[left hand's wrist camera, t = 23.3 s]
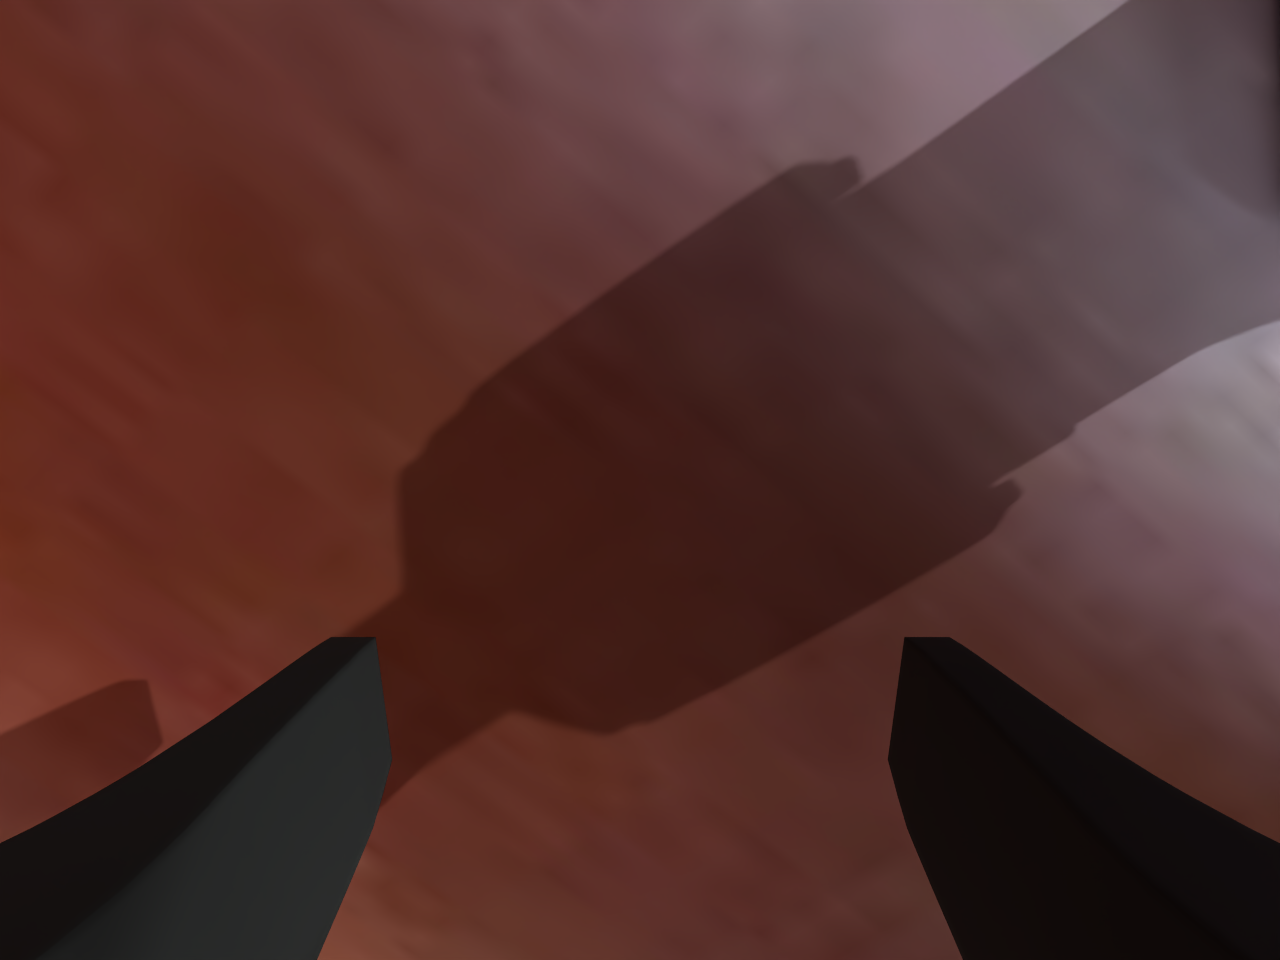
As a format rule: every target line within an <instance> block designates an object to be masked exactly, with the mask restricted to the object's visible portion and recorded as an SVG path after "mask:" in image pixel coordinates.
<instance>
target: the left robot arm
mask: <svg viewBox="0 0 1280 960" xmlns="http://www.w3.org/2000/svg"><path fill="white" fill-rule="evenodd" d="M391 762H392V755H391V747H390V740H389V733H388V725H387V718H386V711H385V703H384V696H383V689H382V681H381V674H380V667H379V659H378V652H377V645H376V637H331V638H329V639H327V640H326V641H324V642H322V643H321V644H319V645H318V646H316V647H315V648H313V649H312V650H310V651H309V652H307V653H306V654H304V655H303V656H301V657H300V658H299V659H297V660H296V661H294V662H293V663H292V664H290V665H289V666H287V667H286V668H285V669H283V670H282V671H280V672H279V673H278V674H276V675H275V676H274V677H272V678H271V679H269V680H268V681H267V682H265V683H264V684H262V685H261V686H260V687H258V688H257V689H255V690H254V691H252V692H251V693H250V694H248V695H247V696H245V697H244V698H243V699H241V700H240V701H238V702H237V703H236V704H234V705H233V706H231V707H230V708H228V709H227V710H226V711H224V712H223V713H221V714H220V715H219V716H217V717H216V718H214V719H213V720H211V721H210V722H208V723H207V724H205V725H204V726H202V727H201V728H199V729H198V730H196V731H194V732H193V733H191V734H190V735H188V736H187V737H185V738H184V739H182V740H181V741H179V742H178V743H176V744H175V745H173V746H171V747H170V748H168V749H167V750H165V751H164V752H162V753H161V754H159V755H158V756H156V757H155V758H153V759H151V760H150V761H148V762H147V763H145V764H144V765H142V766H141V767H139V768H137V769H136V770H134V771H133V772H131V773H129V774H128V775H126V776H124V777H123V778H121V779H119V780H118V781H116V782H114V783H112V784H111V785H109V786H107V787H106V788H104V789H102V790H100V791H99V792H97V793H95V794H93V795H92V796H90V797H88V798H86V799H84V800H82V801H81V802H79V803H77V804H75V805H73V806H72V807H70V808H68V809H66V810H64V811H62V812H61V813H59V814H57V815H55V816H53V817H52V818H50V819H48V820H46V821H44V822H42V823H40V824H38V825H36V826H34V827H32V828H31V829H29V830H27V831H25V832H23V833H20V834H18V835H16V836H14V837H12V838H10V839H8V840H6V841H4V842H2V843H0V960H317V958H318V956H319V954H320V951H321V949H322V947H323V944H324V942H325V940H326V937H327V935H328V933H329V930H330V928H331V926H332V923H333V921H334V919H335V917H336V914H337V912H338V910H339V907H340V905H341V903H342V900H343V898H344V896H345V893H346V891H347V889H348V886H349V884H350V882H351V879H352V877H353V875H354V872H355V870H356V867H357V865H358V863H359V860H360V858H361V856H362V853H363V851H364V848H365V846H366V844H367V841H368V839H369V836H370V834H371V831H372V829H373V826H374V822H375V819H376V816H377V812H378V809H379V806H380V802H381V799H382V795H383V792H384V788H385V784H386V780H387V777H388V773H389V769H390V765H391ZM888 762H889V765H890V769H891V773H892V777H893V780H894V784H895V788H896V792H897V795H898V799H899V802H900V806H901V809H902V812H903V816H904V819H905V822H906V826H907V829H908V831H909V834H910V836H911V839H912V841H913V844H914V846H915V848H916V851H917V853H918V856H919V858H920V860H921V863H922V865H923V867H924V870H925V872H926V875H927V877H928V879H929V882H930V884H931V886H932V889H933V891H934V893H935V896H936V898H937V900H938V903H939V905H940V907H941V910H942V912H943V914H944V916H945V919H946V921H947V923H948V926H949V928H950V930H951V933H952V935H953V937H954V940H955V942H956V944H957V947H958V949H959V951H960V954H961V956H962V958H963V960H1280V843H1278V842H1276V841H1274V840H1272V839H1270V838H1268V837H1266V836H1264V835H1262V834H1260V833H1258V832H1256V831H1254V830H1252V829H1250V828H1248V827H1246V826H1244V825H1243V824H1241V823H1239V822H1237V821H1235V820H1233V819H1232V818H1230V817H1228V816H1226V815H1224V814H1222V813H1220V812H1219V811H1217V810H1215V809H1213V808H1211V807H1209V806H1208V805H1206V804H1204V803H1202V802H1200V801H1198V800H1197V799H1195V798H1193V797H1191V796H1189V795H1187V794H1185V793H1184V792H1182V791H1180V790H1179V789H1177V788H1175V787H1173V786H1172V785H1170V784H1168V783H1167V782H1165V781H1163V780H1161V779H1160V778H1158V777H1156V776H1155V775H1153V774H1151V773H1150V772H1148V771H1147V770H1145V769H1143V768H1142V767H1140V766H1139V765H1137V764H1135V763H1134V762H1132V761H1131V760H1129V759H1128V758H1126V757H1124V756H1123V755H1121V754H1120V753H1118V752H1116V751H1115V750H1113V749H1112V748H1110V747H1108V746H1107V745H1105V744H1104V743H1102V742H1101V741H1099V740H1098V739H1096V738H1095V737H1093V736H1092V735H1090V734H1089V733H1087V732H1086V731H1084V730H1083V729H1081V728H1080V727H1078V726H1077V725H1075V724H1074V723H1072V722H1071V721H1069V720H1068V719H1066V718H1065V717H1063V716H1062V715H1061V714H1059V713H1058V712H1056V711H1055V710H1053V709H1052V708H1051V707H1049V706H1048V705H1046V704H1045V703H1043V702H1042V701H1041V700H1039V699H1038V698H1036V697H1035V696H1034V695H1032V694H1031V693H1029V692H1028V691H1027V690H1025V689H1024V688H1022V687H1021V686H1020V685H1018V684H1017V683H1015V682H1014V681H1013V680H1011V679H1010V678H1008V677H1007V676H1006V675H1004V674H1003V673H1001V672H1000V671H999V670H997V669H996V668H994V667H993V666H992V665H990V664H989V663H987V662H986V661H985V660H983V659H982V658H980V657H979V656H978V655H976V654H975V653H973V652H972V651H970V650H969V649H967V648H966V647H964V646H963V645H961V644H960V643H958V642H957V641H955V640H953V639H952V638H950V637H904V645H903V652H902V659H901V667H900V674H899V681H898V689H897V696H896V703H895V711H894V718H893V725H892V733H891V740H890V747H889V755H888Z"/></svg>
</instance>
